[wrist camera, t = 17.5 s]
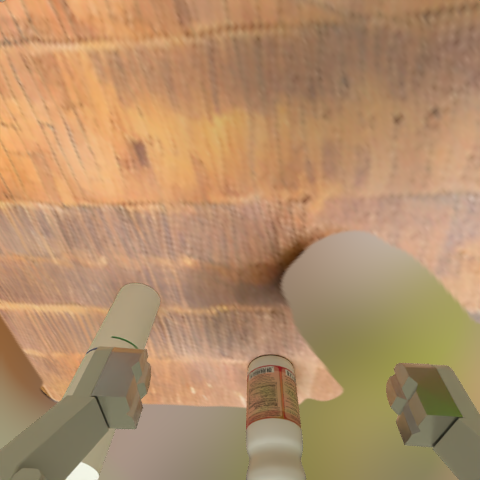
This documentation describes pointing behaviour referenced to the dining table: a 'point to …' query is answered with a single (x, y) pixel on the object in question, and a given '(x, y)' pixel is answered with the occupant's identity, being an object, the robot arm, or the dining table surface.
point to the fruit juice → (273, 421)
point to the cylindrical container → (123, 336)
